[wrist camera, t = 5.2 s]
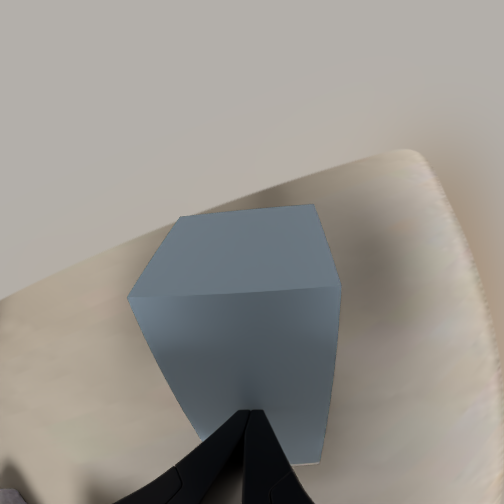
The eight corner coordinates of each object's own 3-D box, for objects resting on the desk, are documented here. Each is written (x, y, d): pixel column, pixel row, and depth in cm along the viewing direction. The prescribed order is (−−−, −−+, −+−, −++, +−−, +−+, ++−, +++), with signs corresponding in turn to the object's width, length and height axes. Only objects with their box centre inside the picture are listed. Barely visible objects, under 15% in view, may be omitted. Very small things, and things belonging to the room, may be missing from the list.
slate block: (319, 464, 11) (341, 285, 6) (218, 465, 12) (126, 297, 7) (313, 387, 16) (314, 204, 11) (228, 391, 16) (179, 216, 11)
